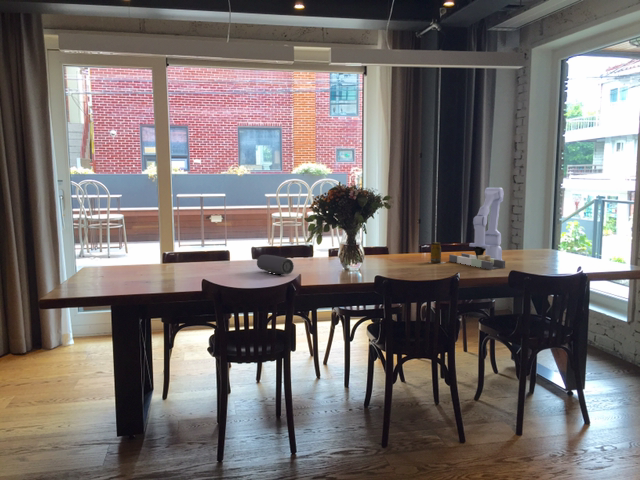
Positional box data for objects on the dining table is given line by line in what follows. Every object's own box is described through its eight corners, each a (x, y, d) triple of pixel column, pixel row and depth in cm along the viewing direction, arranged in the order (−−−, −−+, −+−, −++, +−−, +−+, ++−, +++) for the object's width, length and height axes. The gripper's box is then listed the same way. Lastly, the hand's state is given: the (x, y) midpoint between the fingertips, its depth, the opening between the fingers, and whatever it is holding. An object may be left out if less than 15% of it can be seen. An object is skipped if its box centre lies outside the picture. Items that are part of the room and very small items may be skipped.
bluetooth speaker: (294, 275, 290) (294, 257, 289) (281, 277, 284) (280, 259, 283) (269, 270, 307) (269, 252, 306) (256, 272, 301) (255, 254, 300)
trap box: (463, 259, 333) (463, 253, 333) (505, 267, 303) (505, 260, 302) (449, 261, 328) (449, 254, 328) (490, 269, 298) (490, 262, 298)
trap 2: (493, 266, 308) (493, 265, 308) (502, 268, 302) (502, 267, 302) (483, 267, 305) (483, 266, 305) (492, 269, 299) (492, 268, 299)
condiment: (435, 261, 329) (435, 241, 328) (446, 262, 323) (446, 242, 321) (427, 262, 325) (427, 242, 323) (438, 264, 318) (438, 244, 317)
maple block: (484, 261, 313) (484, 254, 312) (490, 262, 308) (490, 255, 308) (477, 262, 311) (477, 255, 310) (483, 263, 306) (483, 256, 306)
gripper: (465, 235, 316) (465, 258, 318) (483, 238, 303) (483, 262, 305) (474, 235, 319) (474, 257, 321) (493, 237, 306) (492, 261, 308)
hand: (479, 260), depth 313 cm, fingers closed
